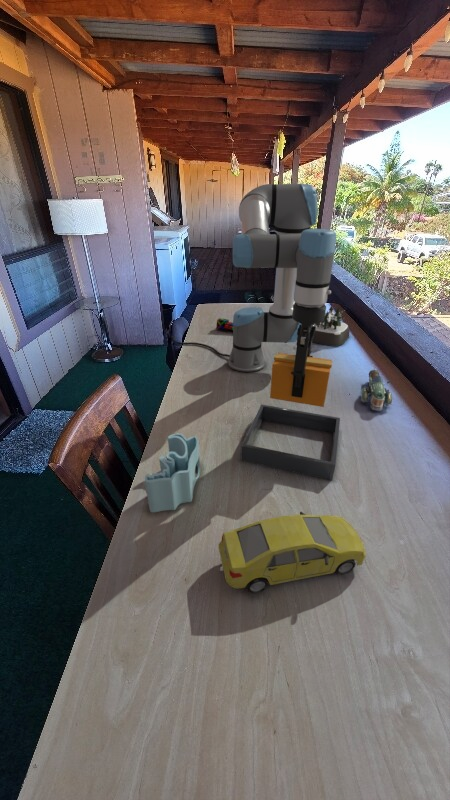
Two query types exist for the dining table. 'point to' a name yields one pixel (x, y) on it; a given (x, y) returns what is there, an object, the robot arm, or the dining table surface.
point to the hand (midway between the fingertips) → (299, 388)
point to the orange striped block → (313, 382)
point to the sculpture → (224, 324)
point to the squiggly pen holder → (174, 474)
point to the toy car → (289, 550)
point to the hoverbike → (376, 391)
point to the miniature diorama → (331, 329)
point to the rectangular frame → (286, 459)
